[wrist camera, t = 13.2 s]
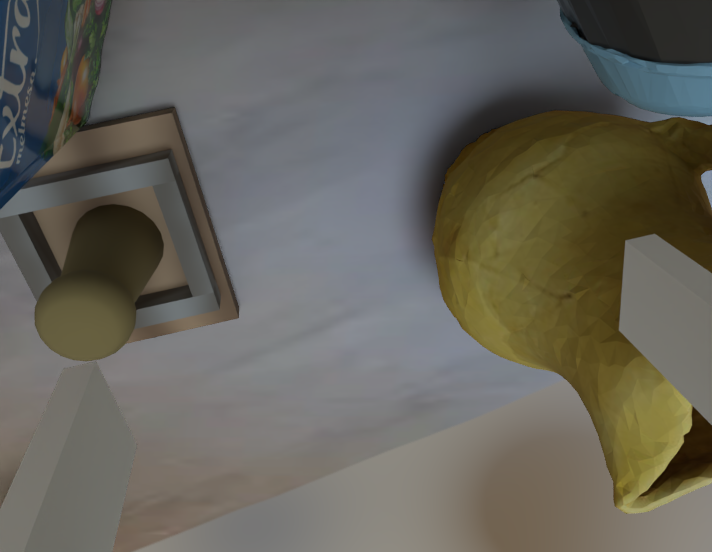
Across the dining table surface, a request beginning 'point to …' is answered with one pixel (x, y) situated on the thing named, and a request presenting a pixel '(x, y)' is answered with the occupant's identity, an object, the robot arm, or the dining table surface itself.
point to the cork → (99, 283)
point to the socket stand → (137, 190)
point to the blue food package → (45, 80)
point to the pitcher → (582, 272)
